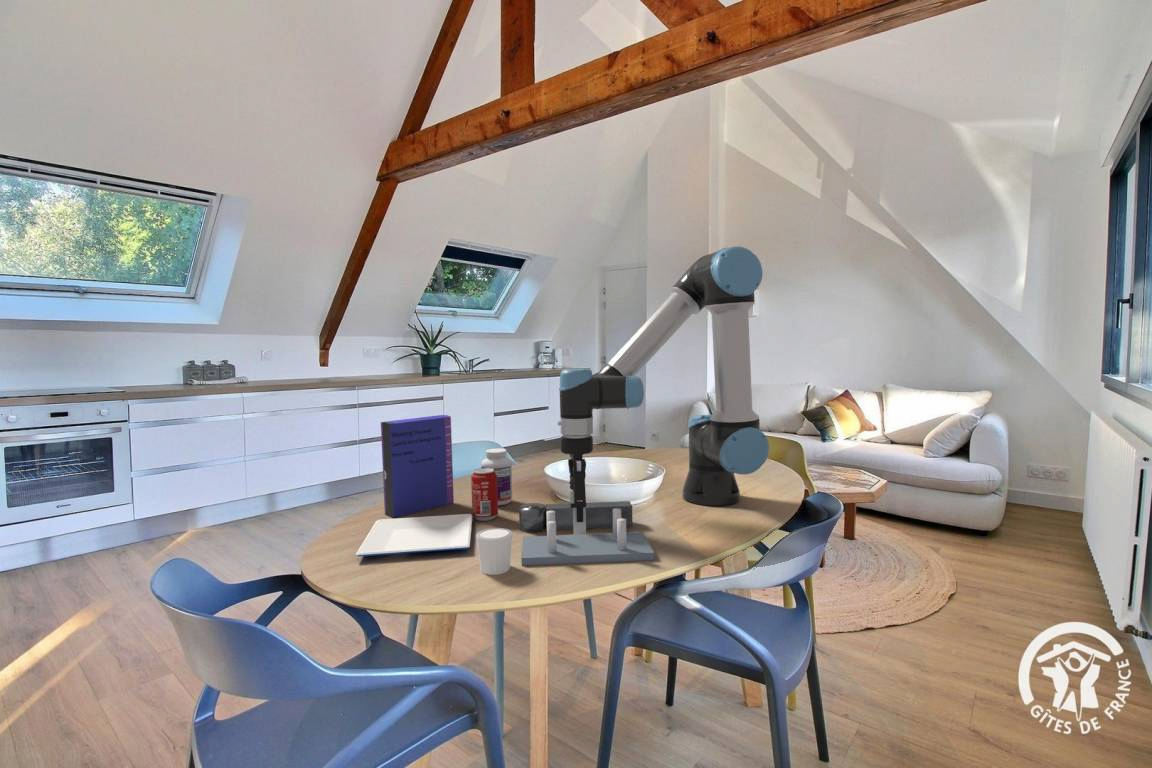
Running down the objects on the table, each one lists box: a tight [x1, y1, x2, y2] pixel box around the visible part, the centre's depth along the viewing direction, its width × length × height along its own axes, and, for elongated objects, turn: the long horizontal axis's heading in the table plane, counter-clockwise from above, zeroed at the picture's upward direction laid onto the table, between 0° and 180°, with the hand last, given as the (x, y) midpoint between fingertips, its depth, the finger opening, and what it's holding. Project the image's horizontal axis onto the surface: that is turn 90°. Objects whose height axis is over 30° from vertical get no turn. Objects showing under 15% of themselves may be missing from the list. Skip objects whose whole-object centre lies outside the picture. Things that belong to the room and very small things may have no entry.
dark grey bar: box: [518, 500, 633, 533], centre depth 131 cm, size 26×6×5 cm, turn 94°
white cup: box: [475, 527, 513, 576], centre depth 107 cm, size 7×7×7 cm
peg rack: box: [520, 508, 655, 566], centre depth 115 cm, size 26×12×8 cm, turn 94°
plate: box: [355, 513, 473, 557], centre depth 124 cm, size 22×22×2 cm
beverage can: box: [470, 468, 499, 522], centre depth 138 cm, size 6×6×12 cm
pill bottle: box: [481, 448, 513, 507], centre depth 151 cm, size 8×8×14 cm
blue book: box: [380, 414, 455, 519], centre depth 147 cm, size 17×5×24 cm, turn 135°
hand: (577, 525), depth 131 cm, fingers open, 13 cm apart
